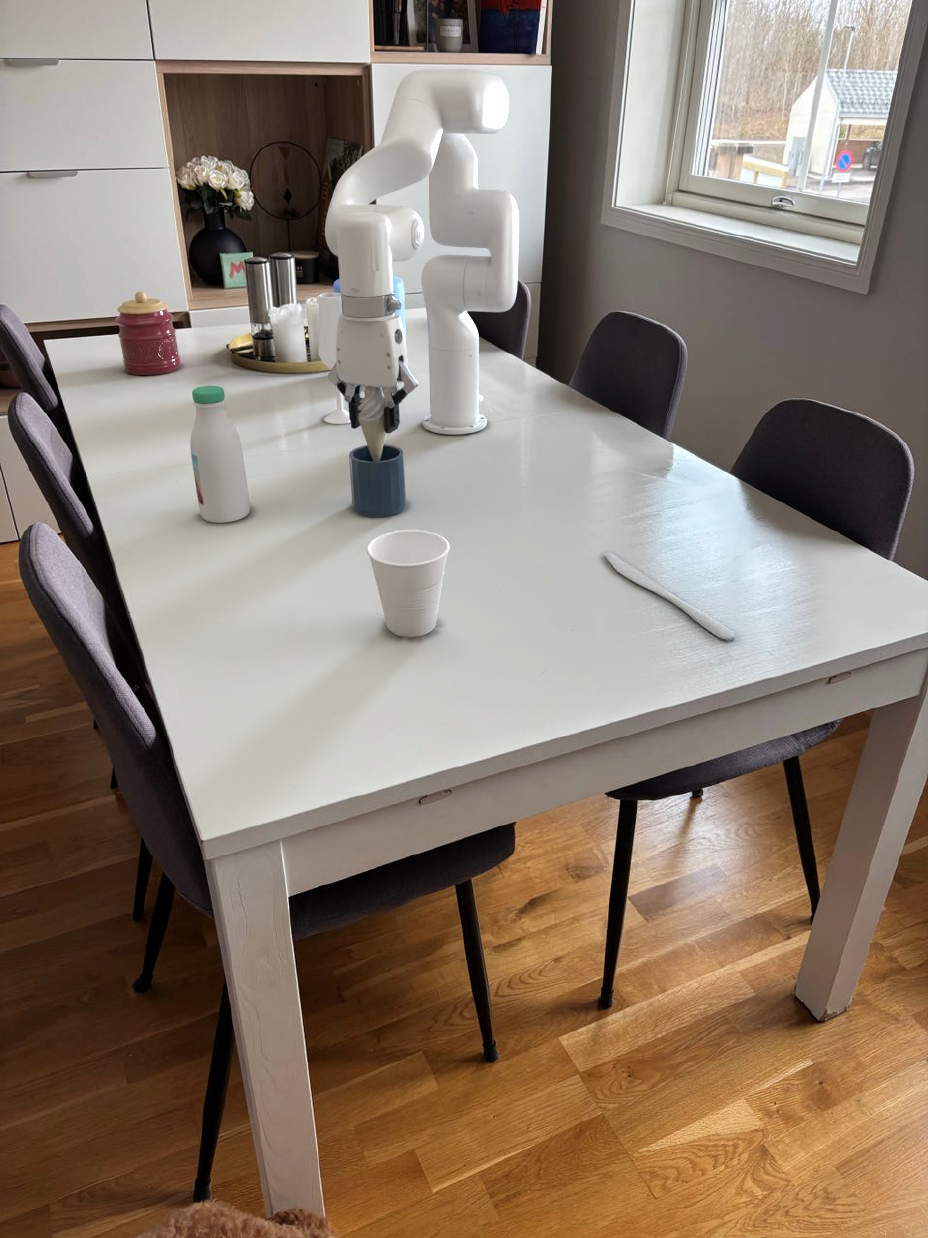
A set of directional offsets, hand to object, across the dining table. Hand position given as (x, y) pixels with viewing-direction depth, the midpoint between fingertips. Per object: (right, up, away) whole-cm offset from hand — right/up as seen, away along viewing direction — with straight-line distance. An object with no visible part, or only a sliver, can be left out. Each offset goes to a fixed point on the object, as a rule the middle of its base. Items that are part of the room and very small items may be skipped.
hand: (374, 427), depth 146 cm
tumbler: (0, -11, +7) cm, 13 cm away
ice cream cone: (0, -6, +3) cm, 7 cm away
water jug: (-7, +26, +73) cm, 78 cm away
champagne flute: (-11, +11, +46) cm, 49 cm away
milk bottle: (-24, -13, +5) cm, 28 cm away
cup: (+7, -30, -27) cm, 41 cm away
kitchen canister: (-60, +30, +81) cm, 105 cm away
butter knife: (+40, -26, -20) cm, 52 cm away
